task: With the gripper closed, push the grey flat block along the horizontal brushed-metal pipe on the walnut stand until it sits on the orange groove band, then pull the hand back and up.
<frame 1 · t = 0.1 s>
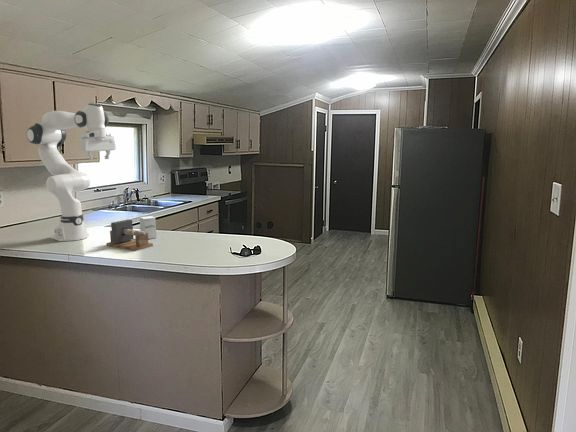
hand: (99, 159, 252), 48 cm above the worktop, fingers open, 8 cm apart
grey flat block: (122, 231, 256), point 8 cm above the worktop, slide at 0.0 cm
pipe stand: (129, 245, 255), on the worktop
supplement box: (148, 238, 274), on the worktop
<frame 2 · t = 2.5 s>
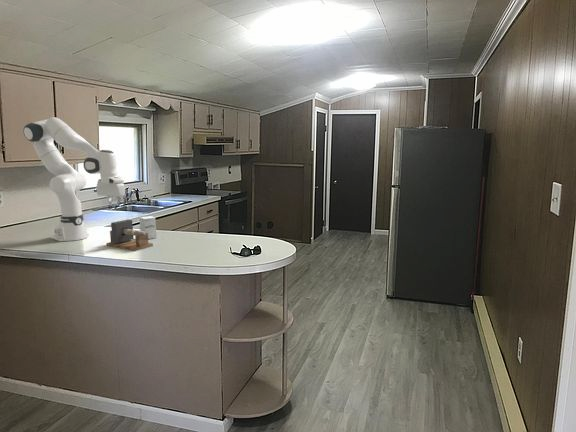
hand: (111, 204, 257), 23 cm above the worktop, fingers closed
nothing on the worktop moved.
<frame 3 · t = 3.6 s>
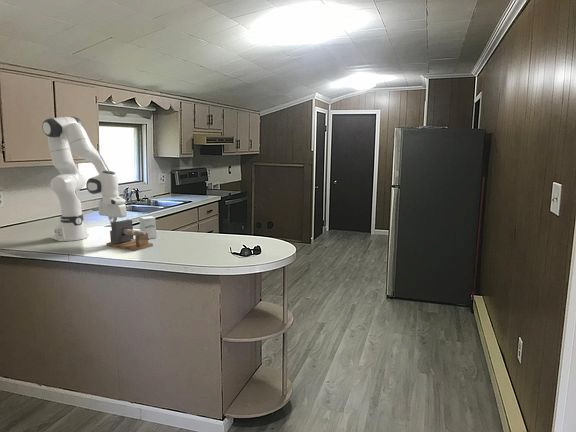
hand: (113, 224, 259), 11 cm above the worktop, fingers closed
nothing on the worktop moved.
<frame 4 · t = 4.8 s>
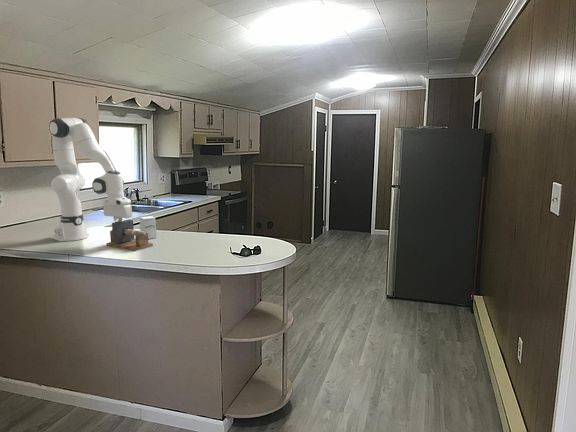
hand: (118, 224, 257), 11 cm above the worktop, fingers closed
grey flat block: (123, 231, 256), point 8 cm above the worktop, slide at 0.7 cm, touching gripper
everything else where it was.
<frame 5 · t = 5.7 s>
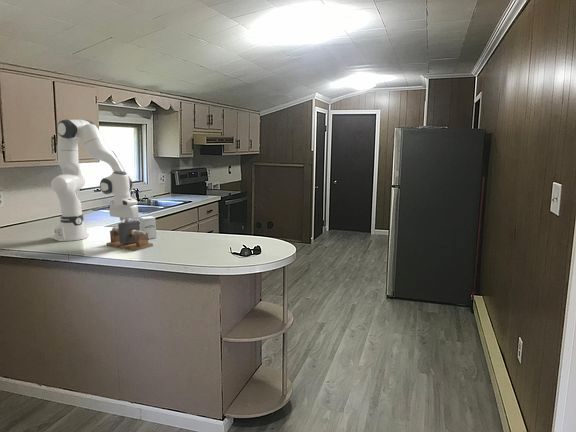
hand: (124, 225, 254), 11 cm above the worktop, fingers closed
grey flat block: (129, 232, 253), point 8 cm above the worktop, slide at 5.9 cm, touching gripper
everything else where it was.
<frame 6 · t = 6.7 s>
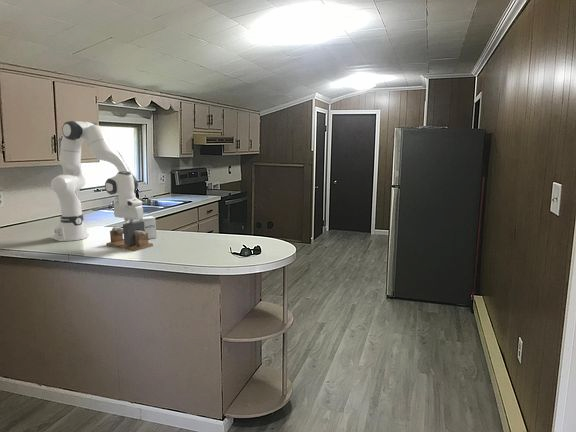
hand: (129, 226, 253), 11 cm above the worktop, fingers closed
grey flat block: (134, 232, 251), point 8 cm above the worktop, slide at 9.7 cm, touching gripper
everything else where it was.
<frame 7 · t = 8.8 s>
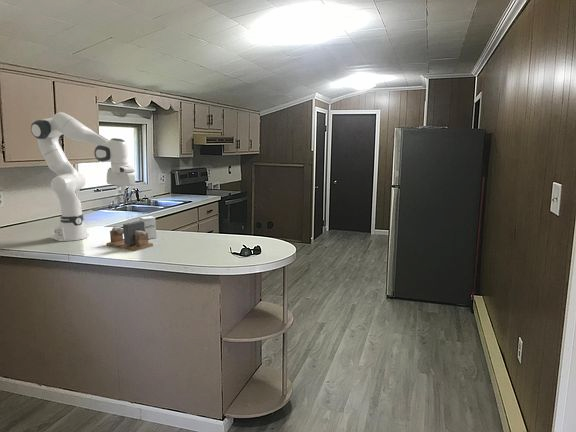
hand: (121, 193, 255), 29 cm above the worktop, fingers closed
grey flat block: (134, 232, 251), point 8 cm above the worktop, slide at 9.9 cm
everything else where it was.
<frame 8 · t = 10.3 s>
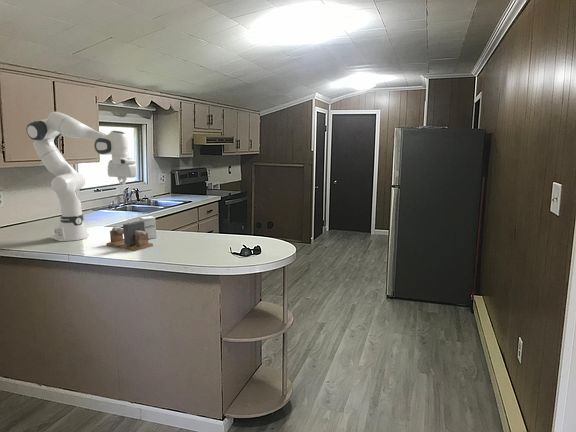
hand: (122, 185, 257), 33 cm above the worktop, fingers closed
nothing on the worktop moved.
at the end: grey flat block slide at 9.9 cm; grey flat block touching nothing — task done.
